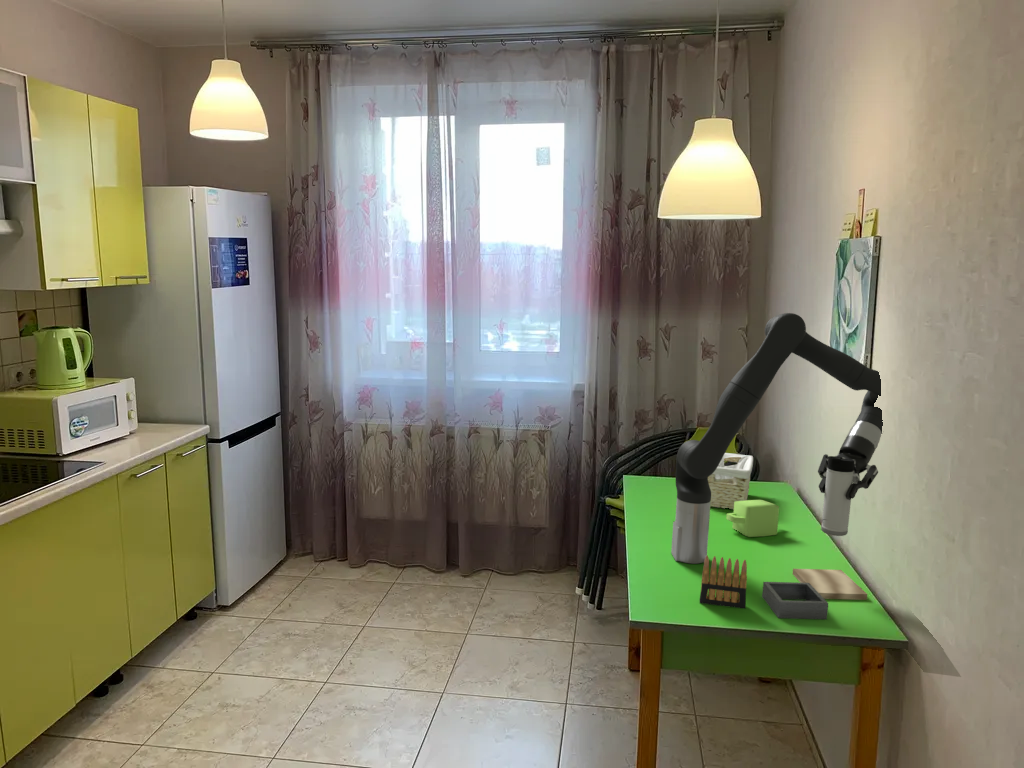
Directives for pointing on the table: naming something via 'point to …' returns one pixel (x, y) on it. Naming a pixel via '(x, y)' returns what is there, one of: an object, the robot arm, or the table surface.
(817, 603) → the socket collar
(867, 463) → the robot arm
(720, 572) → the ammunition clip
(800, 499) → the table surface
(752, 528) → the lime tabbed block
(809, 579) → the beige wavy board
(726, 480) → the storage basket
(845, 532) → the travel mug
